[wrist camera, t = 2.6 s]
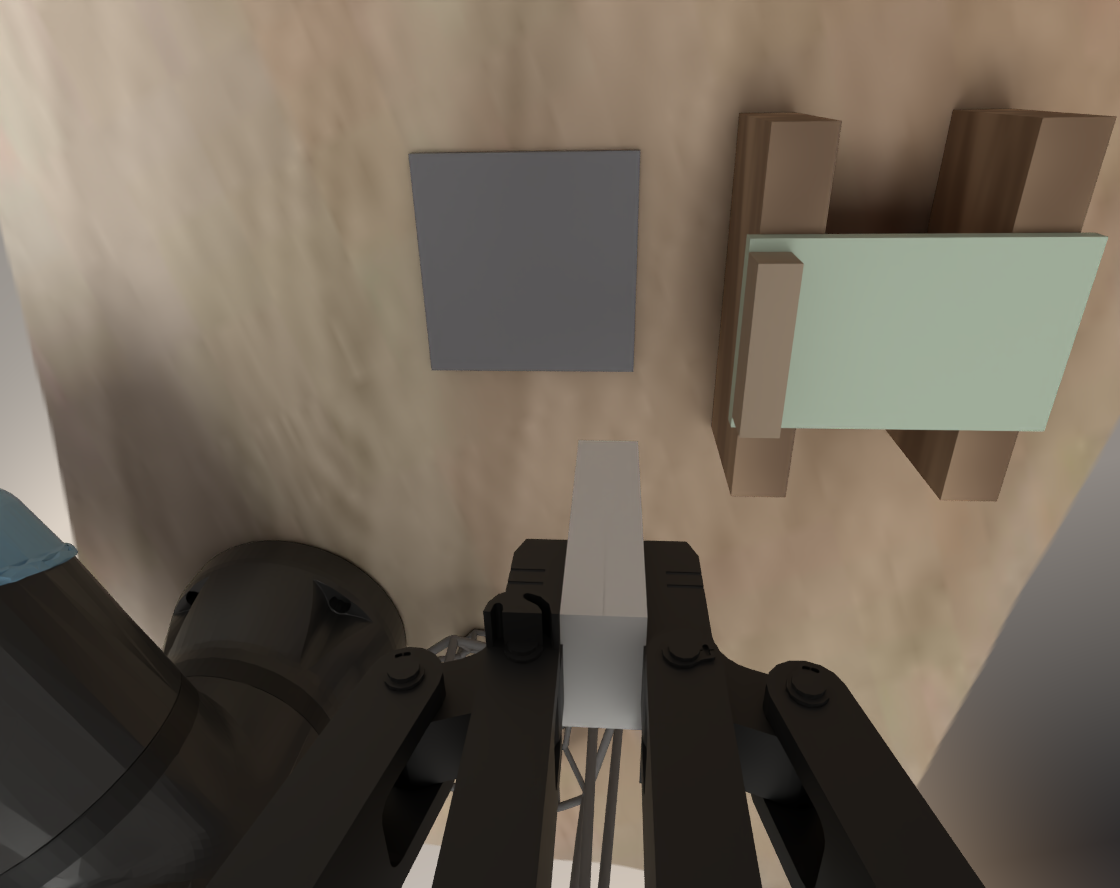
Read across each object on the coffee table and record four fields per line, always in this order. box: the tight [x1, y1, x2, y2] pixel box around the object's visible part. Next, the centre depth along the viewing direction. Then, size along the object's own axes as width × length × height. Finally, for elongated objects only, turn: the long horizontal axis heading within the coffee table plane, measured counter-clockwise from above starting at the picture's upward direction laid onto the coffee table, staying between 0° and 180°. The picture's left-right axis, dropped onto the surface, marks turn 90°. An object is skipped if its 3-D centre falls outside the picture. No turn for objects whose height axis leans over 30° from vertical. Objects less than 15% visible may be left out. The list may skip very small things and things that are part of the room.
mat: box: [408, 150, 640, 372], centre depth 36 cm, size 11×11×1 cm
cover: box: [728, 233, 1108, 438], centre depth 28 cm, size 13×8×3 cm, turn 91°
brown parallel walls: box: [711, 109, 1116, 501], centre depth 32 cm, size 12×16×8 cm
